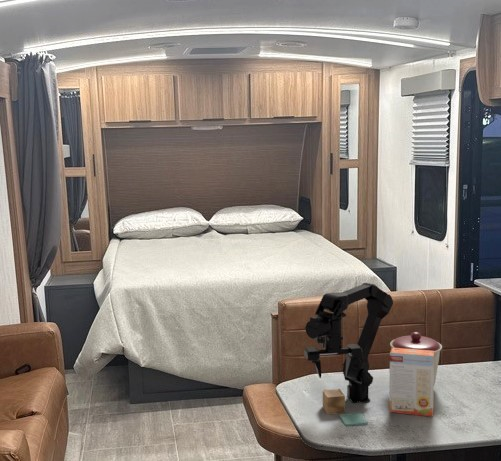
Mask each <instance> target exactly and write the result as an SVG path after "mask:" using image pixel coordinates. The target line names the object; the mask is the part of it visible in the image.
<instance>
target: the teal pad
mask: <svg viewBox="0 0 501 461" xmlns="http://www.w3.org/2000/svg"><path fill="white" fill-rule="evenodd" d="M338 416H339V418H340V420H341V421H342V422H343V424H344V426H345V427H353V426H364V425H368V424H369V423H368V421H367V419H366V418H365V417H364V416H363V414H362V413H361V412H358V413H357V412H356V413H342V414H338Z"/></svg>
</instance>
